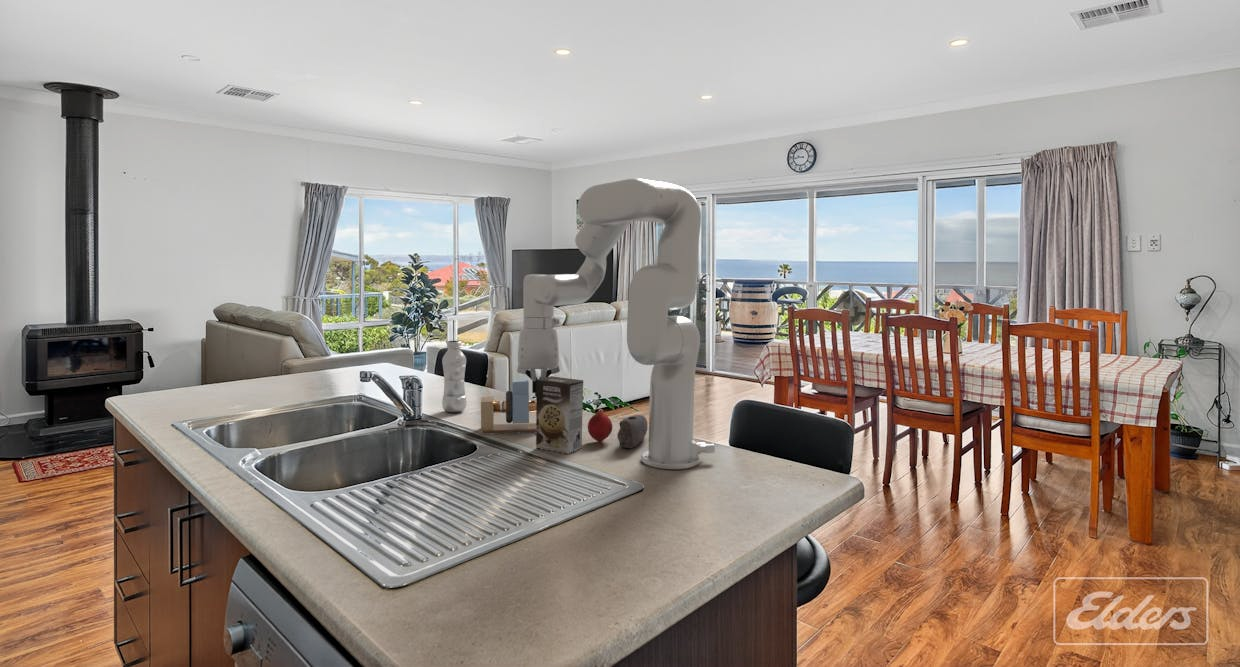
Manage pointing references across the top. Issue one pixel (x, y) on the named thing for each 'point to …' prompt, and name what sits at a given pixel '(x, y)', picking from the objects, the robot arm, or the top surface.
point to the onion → (599, 426)
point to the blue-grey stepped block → (520, 401)
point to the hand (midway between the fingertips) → (538, 395)
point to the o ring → (509, 407)
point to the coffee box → (559, 414)
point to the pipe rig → (500, 407)
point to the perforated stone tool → (632, 431)
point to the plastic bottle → (454, 378)
